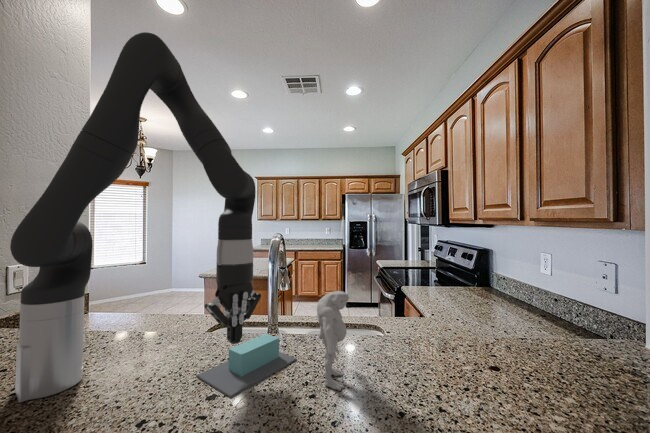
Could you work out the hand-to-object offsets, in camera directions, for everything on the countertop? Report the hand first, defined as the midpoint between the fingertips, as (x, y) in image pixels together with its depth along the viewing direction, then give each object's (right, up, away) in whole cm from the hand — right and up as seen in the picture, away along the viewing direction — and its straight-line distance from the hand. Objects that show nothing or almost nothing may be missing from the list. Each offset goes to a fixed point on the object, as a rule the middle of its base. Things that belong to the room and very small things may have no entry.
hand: (234, 342), depth 59 cm
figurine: (+21, -7, -2) cm, 22 cm away
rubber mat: (+2, -7, +3) cm, 8 cm away
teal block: (0, -4, 0) cm, 4 cm away
